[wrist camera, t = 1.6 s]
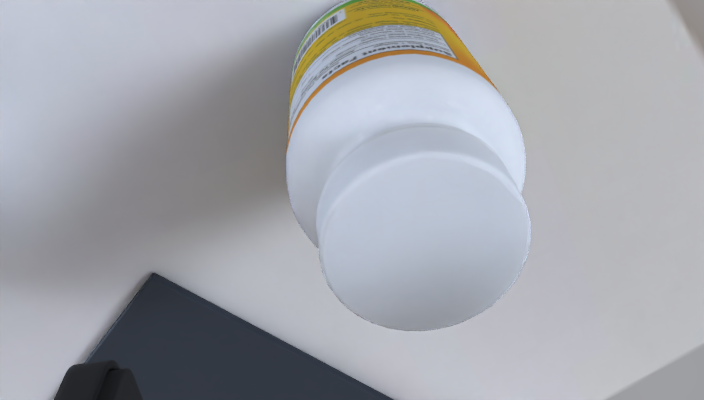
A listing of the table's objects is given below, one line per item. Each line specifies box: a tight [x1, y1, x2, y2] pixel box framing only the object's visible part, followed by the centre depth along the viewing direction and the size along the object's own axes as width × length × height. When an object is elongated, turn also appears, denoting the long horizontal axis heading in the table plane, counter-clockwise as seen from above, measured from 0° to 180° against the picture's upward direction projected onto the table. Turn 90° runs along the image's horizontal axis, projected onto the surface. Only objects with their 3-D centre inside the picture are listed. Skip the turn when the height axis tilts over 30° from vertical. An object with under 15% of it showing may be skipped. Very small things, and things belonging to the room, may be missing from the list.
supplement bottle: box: [286, 0, 531, 331], centre depth 16 cm, size 5×5×10 cm
